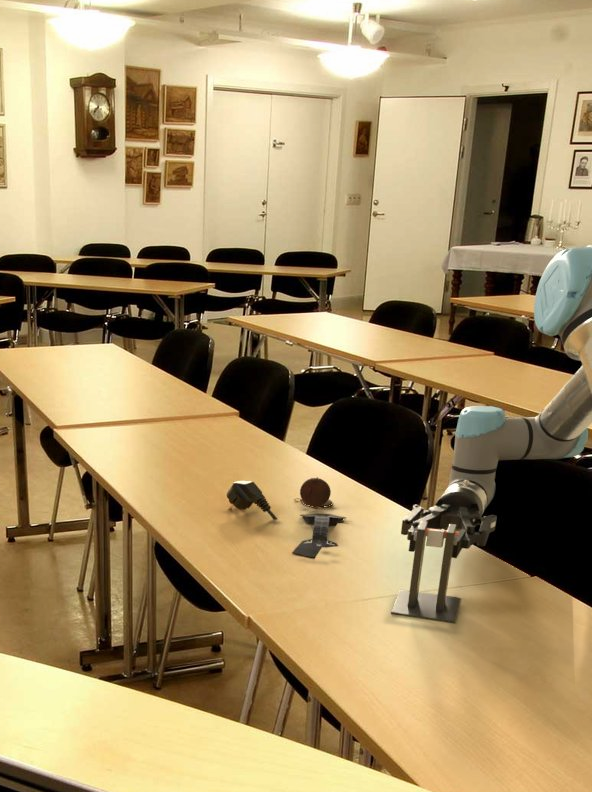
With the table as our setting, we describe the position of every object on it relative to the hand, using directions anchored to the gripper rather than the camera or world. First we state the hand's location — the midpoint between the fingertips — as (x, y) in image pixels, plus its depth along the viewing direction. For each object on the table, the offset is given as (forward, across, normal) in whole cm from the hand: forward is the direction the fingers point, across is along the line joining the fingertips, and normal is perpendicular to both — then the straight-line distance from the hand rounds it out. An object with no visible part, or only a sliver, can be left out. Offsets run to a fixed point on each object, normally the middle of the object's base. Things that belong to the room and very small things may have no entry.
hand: (433, 546), depth 141 cm
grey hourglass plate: (-22, -24, +9) cm, 33 cm away
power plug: (-30, -40, +9) cm, 51 cm away
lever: (+1, +1, -1) cm, 1 cm away
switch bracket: (+5, +1, +9) cm, 10 cm away
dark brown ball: (-41, -31, +9) cm, 52 cm away
